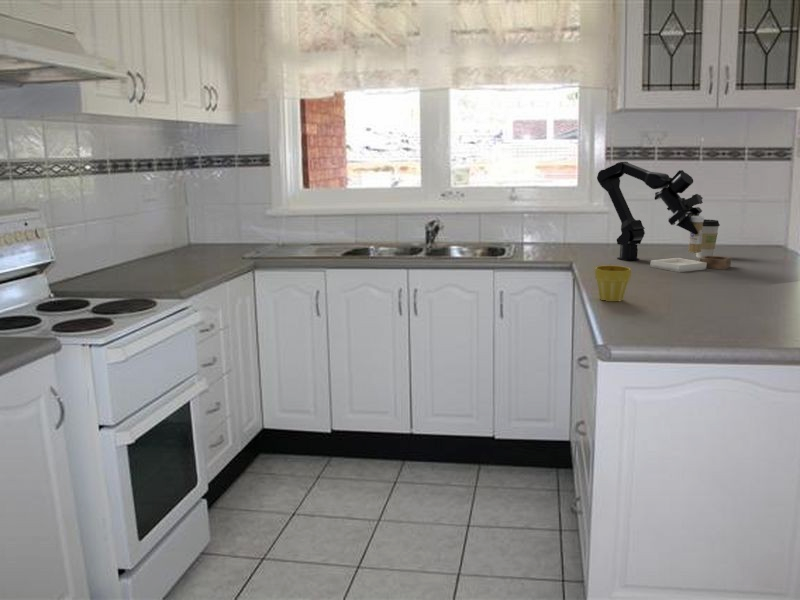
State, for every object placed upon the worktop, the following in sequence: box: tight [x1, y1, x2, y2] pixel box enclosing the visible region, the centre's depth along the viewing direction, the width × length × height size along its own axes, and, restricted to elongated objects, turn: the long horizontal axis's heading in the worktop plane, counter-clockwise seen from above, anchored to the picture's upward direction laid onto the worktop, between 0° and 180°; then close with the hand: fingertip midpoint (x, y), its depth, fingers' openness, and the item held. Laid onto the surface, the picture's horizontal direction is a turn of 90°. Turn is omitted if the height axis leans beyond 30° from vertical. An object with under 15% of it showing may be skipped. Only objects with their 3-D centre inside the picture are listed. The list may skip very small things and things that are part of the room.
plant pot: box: [594, 264, 632, 302], centre depth 232 cm, size 10×10×10 cm
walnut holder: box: [699, 255, 732, 271], centre depth 292 cm, size 9×9×4 cm
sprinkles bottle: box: [688, 215, 705, 254], centre depth 288 cm, size 5×5×14 cm
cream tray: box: [649, 257, 707, 273], centre depth 290 cm, size 14×14×2 cm
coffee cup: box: [695, 219, 721, 259], centre depth 316 cm, size 10×10×15 cm
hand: (699, 233), depth 287 cm, fingers closed on sprinkles bottle, 4 cm apart
